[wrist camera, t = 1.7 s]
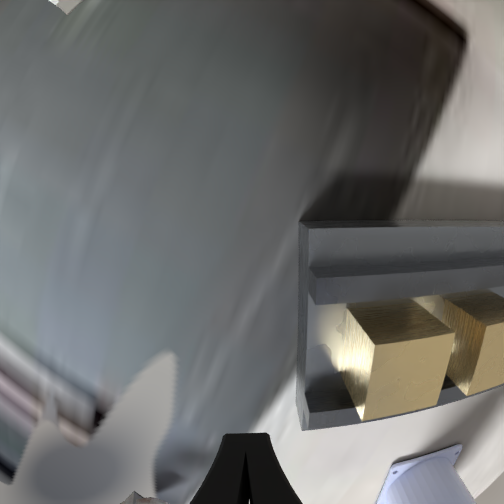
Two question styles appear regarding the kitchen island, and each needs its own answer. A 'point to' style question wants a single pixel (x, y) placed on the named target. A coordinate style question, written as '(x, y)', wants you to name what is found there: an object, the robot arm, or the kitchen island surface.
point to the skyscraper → (66, 5)
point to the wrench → (142, 500)
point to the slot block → (380, 293)
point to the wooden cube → (394, 358)
